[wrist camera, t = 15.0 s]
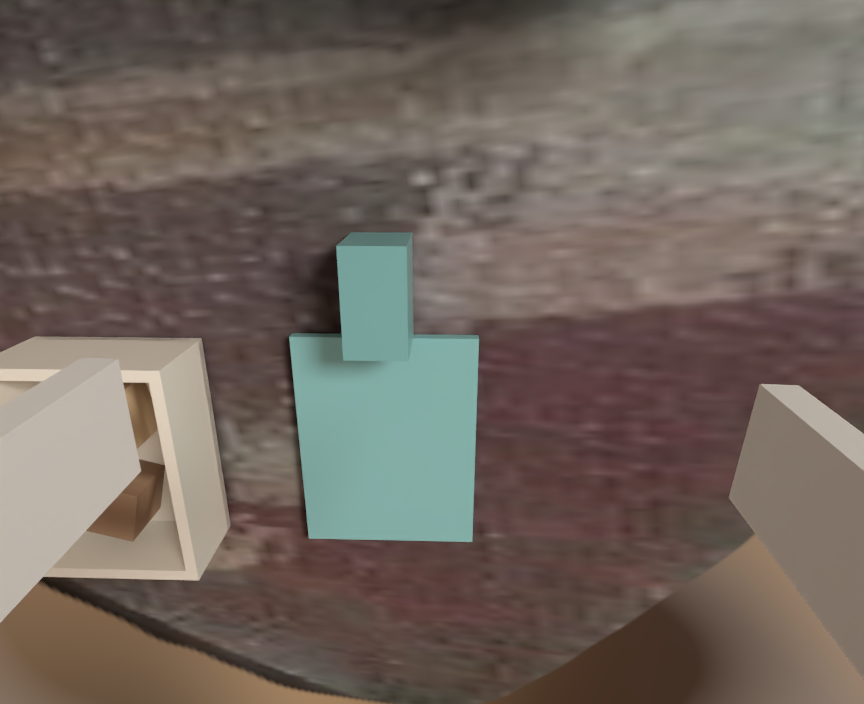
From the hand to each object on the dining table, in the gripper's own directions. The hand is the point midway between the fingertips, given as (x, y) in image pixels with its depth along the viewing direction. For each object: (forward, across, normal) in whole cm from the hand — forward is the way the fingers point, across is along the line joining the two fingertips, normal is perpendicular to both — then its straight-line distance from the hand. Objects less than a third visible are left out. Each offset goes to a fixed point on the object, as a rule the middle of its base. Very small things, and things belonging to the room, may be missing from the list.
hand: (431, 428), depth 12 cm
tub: (+25, -23, -16) cm, 38 cm away
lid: (+26, -4, -12) cm, 29 cm away
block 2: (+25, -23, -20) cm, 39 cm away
